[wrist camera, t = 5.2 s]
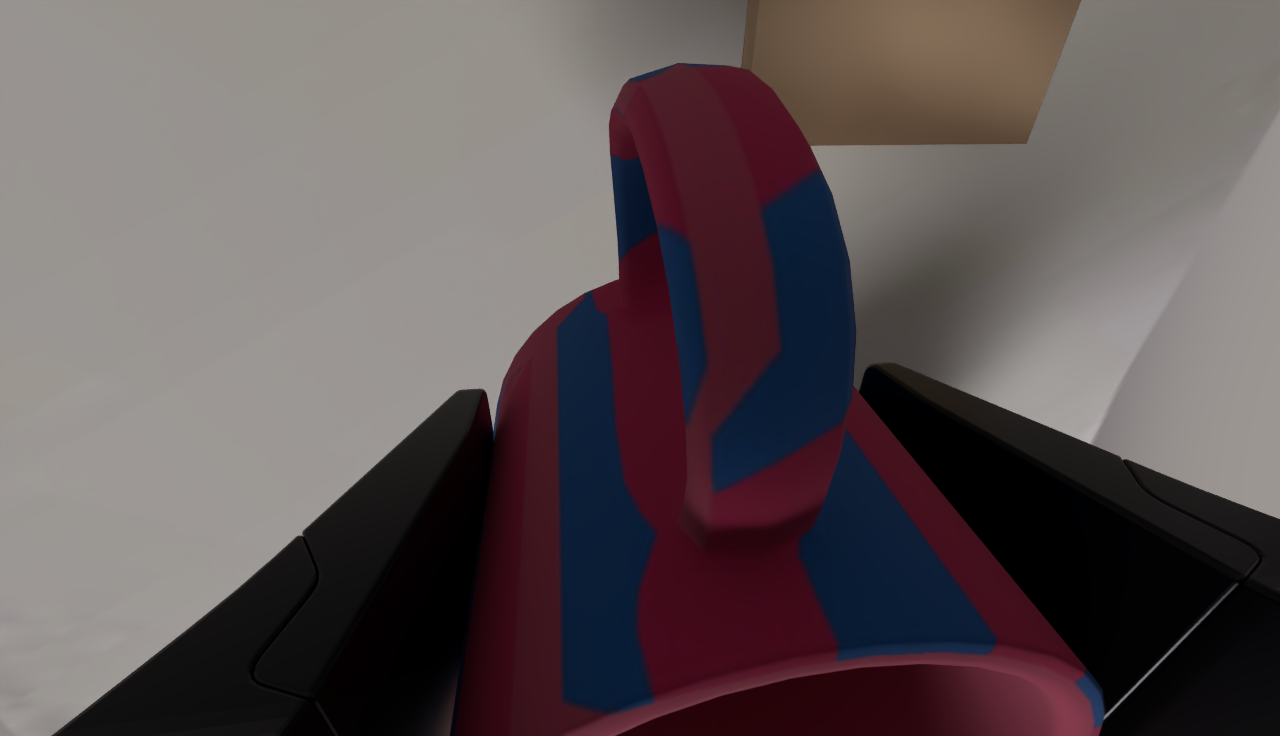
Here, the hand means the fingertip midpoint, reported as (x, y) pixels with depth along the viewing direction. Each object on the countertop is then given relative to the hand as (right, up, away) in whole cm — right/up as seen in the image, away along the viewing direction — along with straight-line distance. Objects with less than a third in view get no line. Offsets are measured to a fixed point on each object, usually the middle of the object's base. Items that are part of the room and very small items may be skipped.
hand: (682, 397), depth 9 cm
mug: (0, +1, +1) cm, 2 cm away
